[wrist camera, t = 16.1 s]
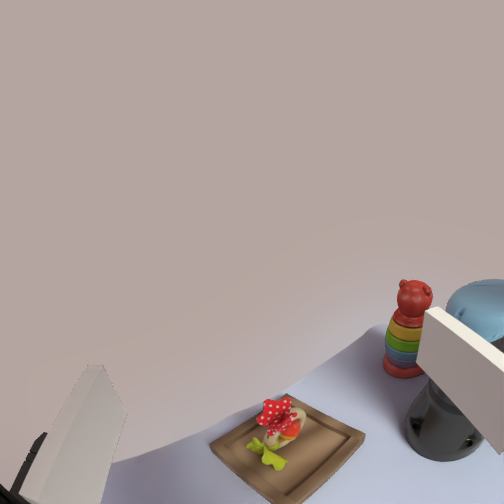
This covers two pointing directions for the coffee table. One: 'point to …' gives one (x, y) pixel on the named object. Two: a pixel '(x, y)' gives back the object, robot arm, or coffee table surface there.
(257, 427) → the walnut plate
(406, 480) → the coffee table surface
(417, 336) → the stacking bear
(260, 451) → the bird rattle
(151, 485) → the coffee table surface
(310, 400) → the coffee table surface
